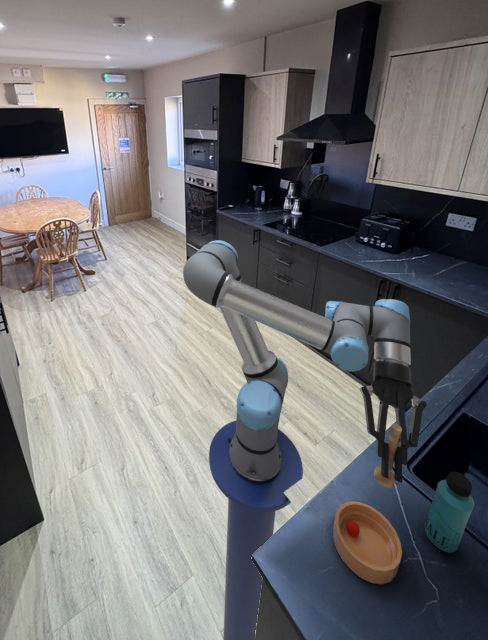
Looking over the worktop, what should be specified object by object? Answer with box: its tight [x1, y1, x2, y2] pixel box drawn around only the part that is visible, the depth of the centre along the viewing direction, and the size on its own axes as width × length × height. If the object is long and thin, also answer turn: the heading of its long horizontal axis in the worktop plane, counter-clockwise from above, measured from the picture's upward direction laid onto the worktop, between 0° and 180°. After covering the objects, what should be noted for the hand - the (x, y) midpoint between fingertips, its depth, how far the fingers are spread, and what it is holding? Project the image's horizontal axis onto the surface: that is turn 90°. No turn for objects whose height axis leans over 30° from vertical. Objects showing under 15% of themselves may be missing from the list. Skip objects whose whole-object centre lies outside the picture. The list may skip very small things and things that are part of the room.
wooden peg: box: [373, 423, 402, 488], centre depth 71 cm, size 4×4×15 cm
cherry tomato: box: [346, 521, 360, 537], centre depth 75 cm, size 3×3×3 cm
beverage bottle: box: [424, 471, 475, 554], centre depth 71 cm, size 6×7×20 cm
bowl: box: [332, 500, 403, 585], centre depth 72 cm, size 13×13×5 cm
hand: (391, 478), depth 68 cm, fingers closed on wooden peg, 2 cm apart
